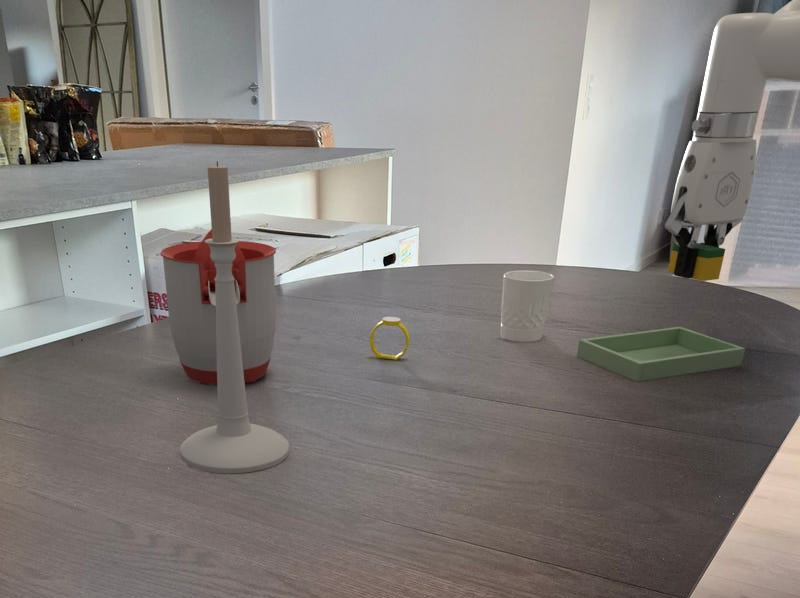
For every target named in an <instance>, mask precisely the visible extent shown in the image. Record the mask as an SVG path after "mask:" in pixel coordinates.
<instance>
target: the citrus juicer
mask: <svg viewBox="0 0 800 598" xmlns="http://www.w3.org/2000/svg"><path fill="white" fill-rule="evenodd" d="M207 239H212V228H211V229H210V230H209V231H207V234H206V235H205V236H204V237H203V239H202V240H201V241H192V242H184V243H179V244H174V245H169V246H167V247H165V248H163V249H162V250H161V251H160V256H161V257H162V260H163V271H164V281H165V291H166V292H165V293H166V302H167V312H168V319H169V320H168V321H169V327H170V333H171V336H172V341H173V344H174V346H175V350H176V352H177V355H178V357H179V362H180V364H181V367H182V369H183V370H184V373H185V374H186V377H188V379H190V380H192V381H194V382H197V383H199V384H200V385H203V386H209V385H217V341H216V291H215V280H214V279H215V277H216V274H217V271H216V267H215V262H214V261H213V260H212V259H211V258H210V254H211V249H210V247H209V245H208V244H207V243H205V240H207ZM276 253H277V250H276V248H275V247H274V246H272V245H269V244H266V243H261V242H256V241H246V240H244V241H243V240H240V241H239V242H238V243H237V245H236V246H235V254H236V258H235V260H233V261H232V264H233V265H232V269H231V272H232V275H233V277H234V279H235V280H234V286H235V296H236V306H237V315H238V325H239V335H240V344H241V354H242V364H243V373H244V383H245V384H246V383H254V382H256V381H257V380H258V379H260V378H262V377H263V376H265V374H266V373H267V370H268V368H269V364H270V361H271V359H272V356H271V355H272V351H273V347H274V342H275V334H276V318H277V317H276V313H277V312H276V281H275V254H276Z"/></svg>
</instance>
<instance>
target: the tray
mask: <svg viewBox="0 0 800 598" xmlns="http://www.w3.org/2000/svg"><path fill="white" fill-rule="evenodd" d="M577 346H578V347H577V353H576V357H577V358H579V359H582V360H584V361H586V362H588V363H591V364H593V365H595V366H598V367H601V368H603V369H605V370H608V371H610V372H612V373H614V374H616V375H619V376H621V377H624V378H625V379H629V380H632V381H634V382H636V383H638V382H644V381H651V380H657V379H664V378H670V377H676V376H682V375H689V374H696V373H697V374H698V373H702V372H709V371H715V370H721V369H729V368H734V367H735V368H736V367H741V366H742V362H743V360H744V356H745V352H746V347H743V346H741V345H737V344H734V343H730V342H728V341H725V340H721V339H719V338H715V337H714V336H713V337H712V336H710V335H707V334H703V333H701V332H697V331H695V330H691V329H689V328H685V327H683V326H674V327H666V328H660V329H651V330H643V331H636V332H629V333H622V334H621V333H620V334H613V335H605V336H597V337H589V338H583V339H579V341H578V345H577Z"/></svg>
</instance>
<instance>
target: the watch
mask: <svg viewBox="0 0 800 598" xmlns="http://www.w3.org/2000/svg"><path fill="white" fill-rule="evenodd" d="M401 321H402V320H401V318H400V317H396V316H384V317H382V319H381V321H380V322H378V323H377V324H376V325H375V327H374V328H373V329H372V330H371V332H370V335H369V336H370V337H369V347H370V349H371V352H372V353H373V355H375V356H376V358H378V359H386V360H393V361H397V360H399V359H400V358H402V357H403V356H405V354H406V352H407V350H408V348H409V347H410V333H409V331H408V328H407V327H406V325H404V324H403V322H401ZM382 326H389V327H398V328H399V329H400V330H401V331H402V333H403V335H404V337H405V347H404V348H403V350H402V351H401V352H400V353H398V354H397V355H395V354H394V355H393V354H386V353H381V352H380V351H379V349H378V348H376V345H375V342H374V337H375V333H376V331H377V329H378V328H380V327H382Z"/></svg>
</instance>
